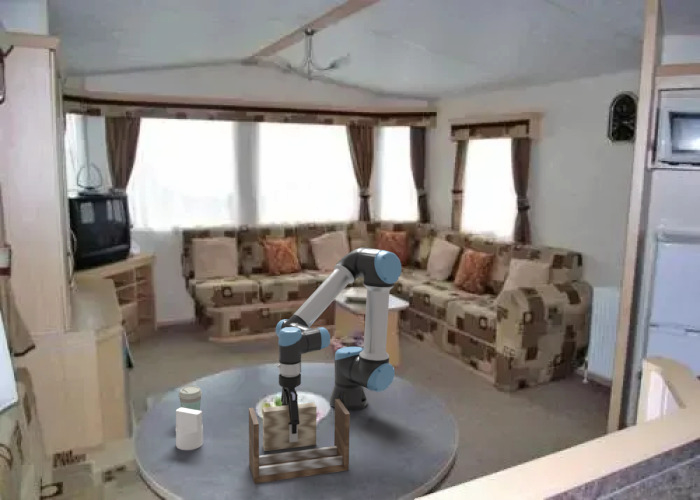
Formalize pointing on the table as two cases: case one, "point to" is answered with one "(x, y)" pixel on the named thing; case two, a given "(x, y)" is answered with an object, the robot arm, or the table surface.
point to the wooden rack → (301, 453)
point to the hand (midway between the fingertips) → (289, 432)
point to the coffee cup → (190, 397)
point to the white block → (189, 429)
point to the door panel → (279, 428)
